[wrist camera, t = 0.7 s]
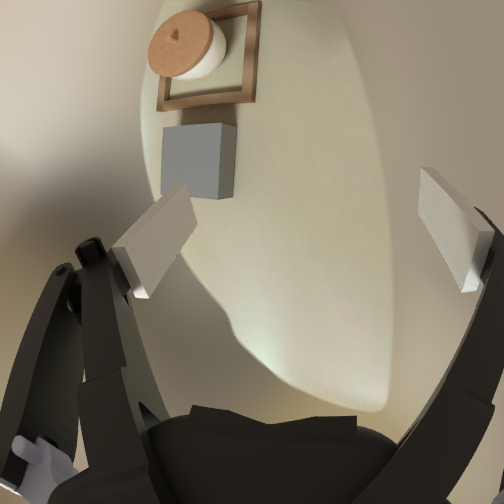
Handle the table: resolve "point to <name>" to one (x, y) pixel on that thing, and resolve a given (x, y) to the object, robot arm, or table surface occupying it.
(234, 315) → the table surface
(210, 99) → the walnut collar
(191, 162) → the gray stand
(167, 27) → the lidded jar
